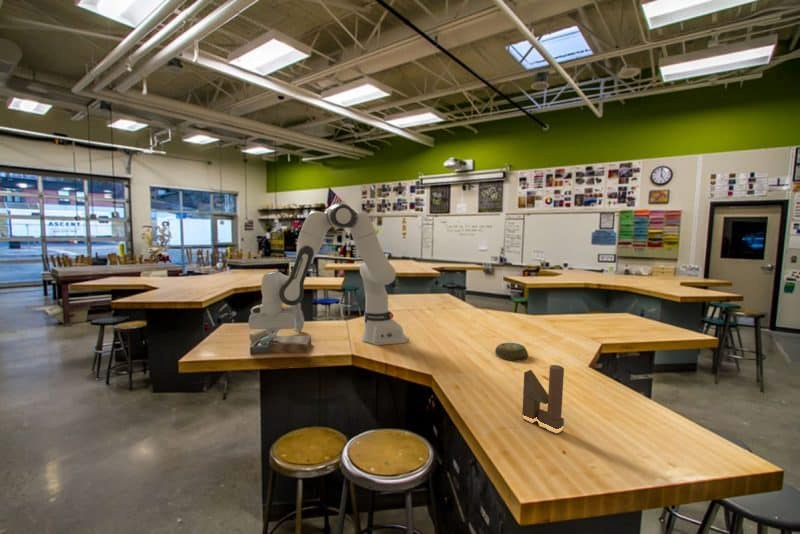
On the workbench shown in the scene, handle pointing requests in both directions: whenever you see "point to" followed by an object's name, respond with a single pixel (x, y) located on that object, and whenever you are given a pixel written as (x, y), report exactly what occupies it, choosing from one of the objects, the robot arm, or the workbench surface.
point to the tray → (259, 348)
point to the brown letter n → (544, 397)
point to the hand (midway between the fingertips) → (272, 338)
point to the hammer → (263, 332)
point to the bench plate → (290, 344)
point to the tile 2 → (264, 340)
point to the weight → (511, 351)
